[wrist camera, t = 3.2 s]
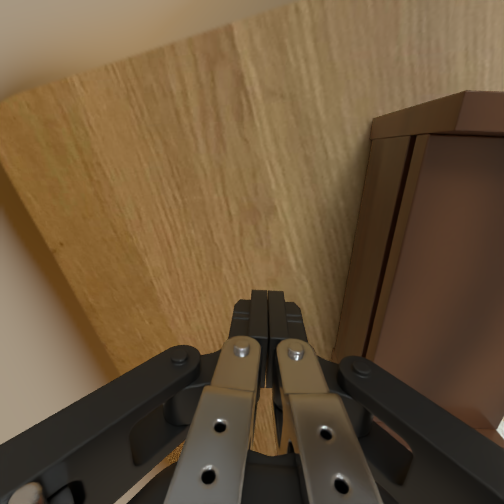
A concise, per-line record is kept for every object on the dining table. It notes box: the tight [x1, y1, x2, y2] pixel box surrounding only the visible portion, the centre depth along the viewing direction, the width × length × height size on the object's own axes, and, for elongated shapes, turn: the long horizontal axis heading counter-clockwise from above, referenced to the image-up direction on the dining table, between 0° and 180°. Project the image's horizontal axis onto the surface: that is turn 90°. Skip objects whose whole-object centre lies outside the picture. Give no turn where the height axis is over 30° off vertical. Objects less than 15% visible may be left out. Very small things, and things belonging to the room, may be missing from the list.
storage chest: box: [331, 90, 504, 452], centre depth 16 cm, size 8×18×8 cm, turn 178°
